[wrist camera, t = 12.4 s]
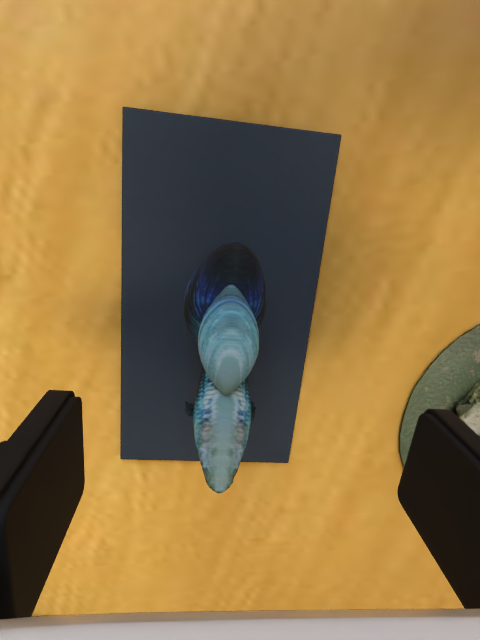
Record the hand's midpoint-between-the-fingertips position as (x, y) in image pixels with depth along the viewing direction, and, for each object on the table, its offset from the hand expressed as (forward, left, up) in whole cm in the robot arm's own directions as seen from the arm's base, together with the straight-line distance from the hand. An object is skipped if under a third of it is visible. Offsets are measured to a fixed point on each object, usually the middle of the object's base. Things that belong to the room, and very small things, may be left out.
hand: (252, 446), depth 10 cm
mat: (0, 0, -14) cm, 14 cm away
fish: (0, 0, -14) cm, 14 cm away
